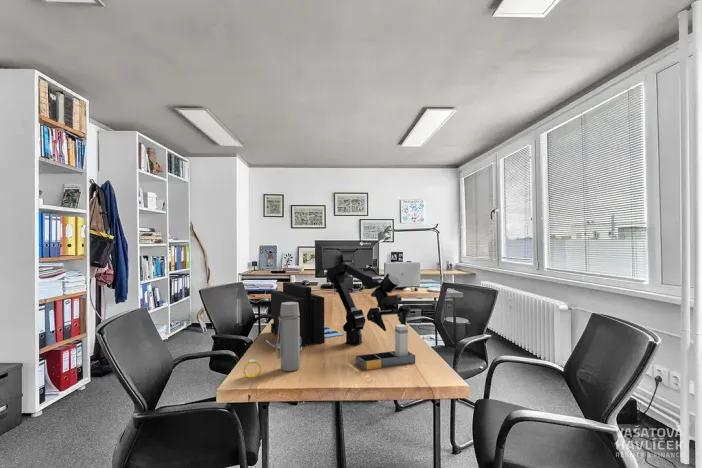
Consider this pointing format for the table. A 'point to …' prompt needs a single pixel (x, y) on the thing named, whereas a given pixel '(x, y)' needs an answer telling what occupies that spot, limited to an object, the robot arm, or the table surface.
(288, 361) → the water bottle
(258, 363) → the yellow ring
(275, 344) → the wall mount rack
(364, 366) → the rack
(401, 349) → the white capped pillar
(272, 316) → the game console
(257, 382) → the table surface
